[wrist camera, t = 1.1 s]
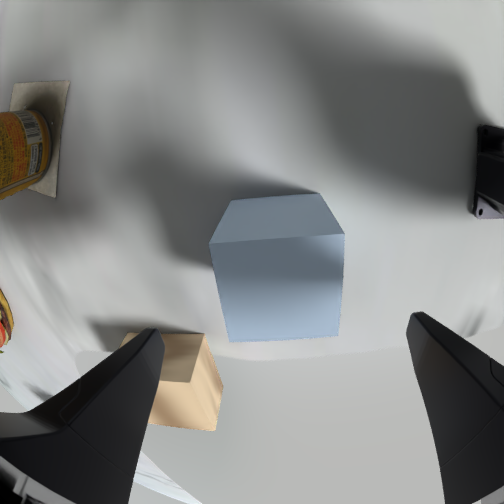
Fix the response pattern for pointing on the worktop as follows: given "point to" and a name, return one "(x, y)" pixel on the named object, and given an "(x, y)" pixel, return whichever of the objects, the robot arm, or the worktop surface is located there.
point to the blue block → (279, 268)
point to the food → (5, 321)
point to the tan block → (186, 384)
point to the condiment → (32, 137)
